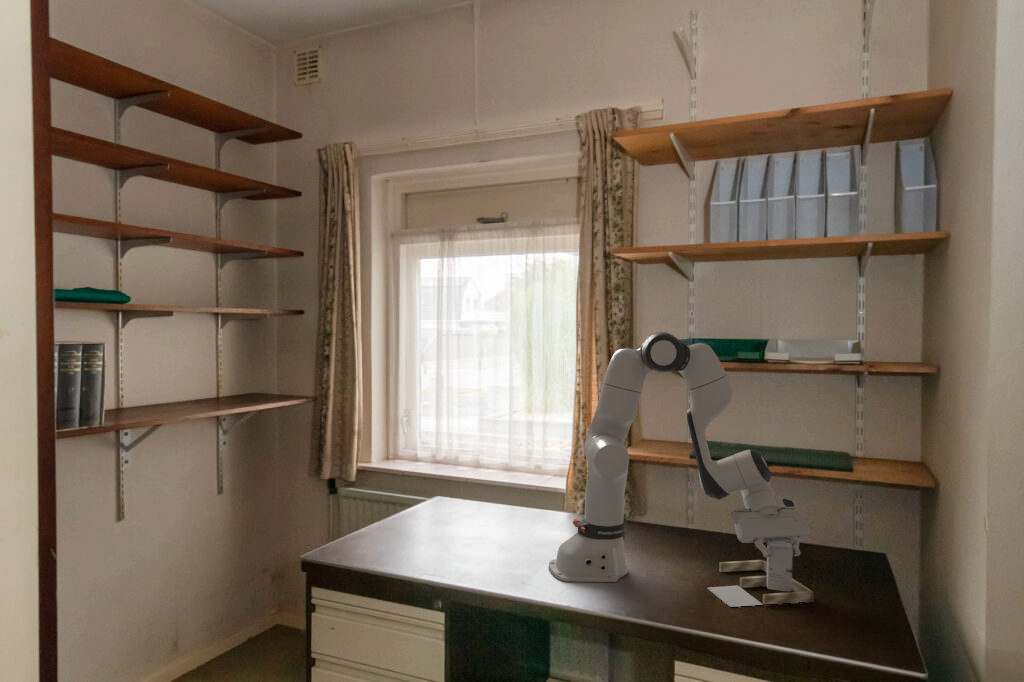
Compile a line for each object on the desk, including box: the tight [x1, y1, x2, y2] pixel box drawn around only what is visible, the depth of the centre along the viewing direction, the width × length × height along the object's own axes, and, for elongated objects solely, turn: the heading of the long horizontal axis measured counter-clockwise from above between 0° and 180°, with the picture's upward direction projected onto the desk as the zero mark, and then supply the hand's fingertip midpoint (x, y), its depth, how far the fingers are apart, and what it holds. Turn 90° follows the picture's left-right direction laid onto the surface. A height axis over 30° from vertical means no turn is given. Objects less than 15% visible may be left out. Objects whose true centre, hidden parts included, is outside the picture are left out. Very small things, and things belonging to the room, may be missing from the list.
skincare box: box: [766, 539, 794, 592], centre depth 176 cm, size 6×4×12 cm
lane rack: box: [718, 559, 815, 605], centre depth 182 cm, size 14×23×2 cm, turn 12°
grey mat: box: [706, 585, 764, 608], centre depth 174 cm, size 9×12×1 cm
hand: (782, 555), depth 175 cm, fingers closed on skincare box, 7 cm apart
